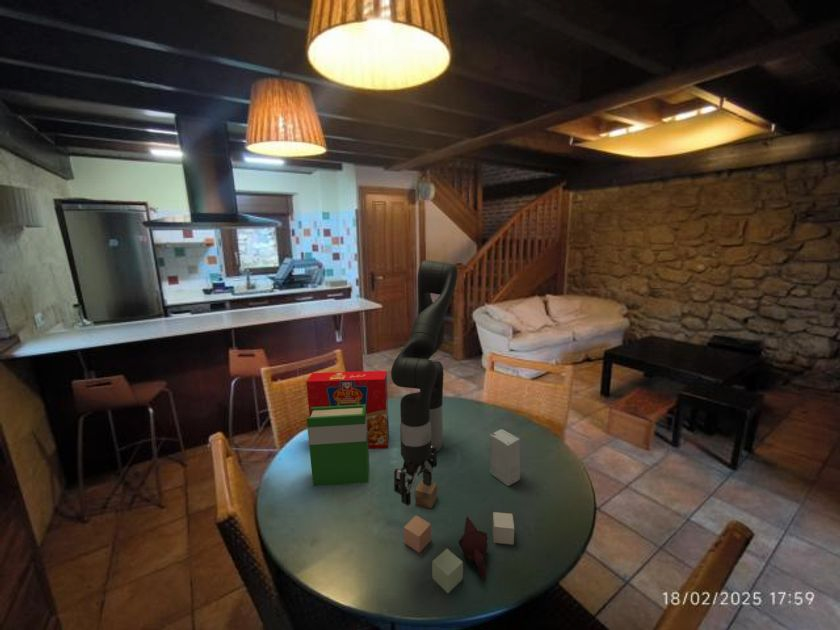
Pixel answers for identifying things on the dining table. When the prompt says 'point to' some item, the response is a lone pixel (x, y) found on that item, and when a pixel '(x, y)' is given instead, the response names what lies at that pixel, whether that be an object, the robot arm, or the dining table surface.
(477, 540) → the icecream
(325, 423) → the hardback book
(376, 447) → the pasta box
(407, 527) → the terracotta cube
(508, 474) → the skincare box
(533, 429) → the dining table surface
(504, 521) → the cream cube
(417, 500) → the walnut cube
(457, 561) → the sage cube
